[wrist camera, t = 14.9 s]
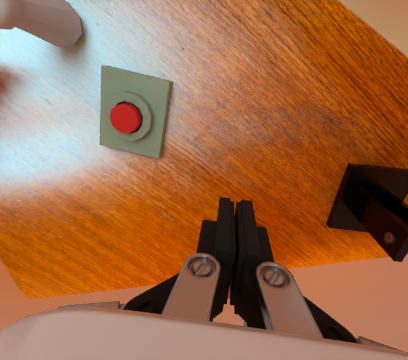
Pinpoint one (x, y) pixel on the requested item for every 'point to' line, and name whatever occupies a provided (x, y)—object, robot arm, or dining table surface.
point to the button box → (146, 104)
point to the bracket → (374, 206)
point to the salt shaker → (42, 20)
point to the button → (125, 118)
